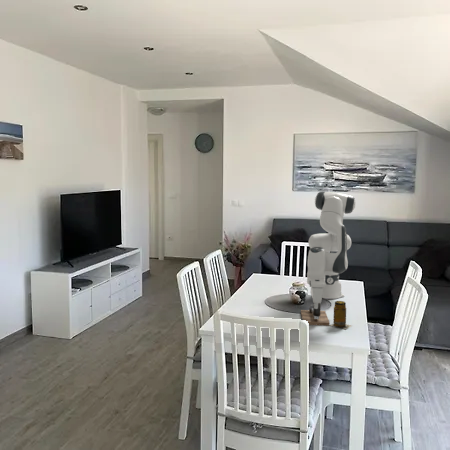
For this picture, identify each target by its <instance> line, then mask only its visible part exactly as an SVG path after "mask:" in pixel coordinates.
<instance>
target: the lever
mask: <svg viewBox="0 0 450 450" xmlns="http://www.w3.org/2000/svg"><path fill="white" fill-rule="evenodd" d="M321 303H322V302H321ZM321 303H318V309H314V302H313V301H312V304H309V305H308V306H309V307H308V308H309V309H308V310H309V311H310V312H312V314H313V317H314V319H319V316H320V311H322V310H321V309H322V308H321V307H322V305H321Z"/></svg>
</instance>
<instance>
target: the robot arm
mask: <svg viewBox="0 0 450 450" xmlns="http://www.w3.org/2000/svg"><path fill="white" fill-rule="evenodd" d="M314 205H315V208H316V209H318V210H319V211H321V212H320V217H319V224H320V227H321V228H322V229H323V230H324V231H325V232H327V233H314V234H311V235H310V237H309V238H308V246H309V250H308V255H307V273H306V276H307V277H306V284H308V285H309V287H310V295H311V298H312V303H313V302H314V309H318V303H322V300H323V299H329V300H333V299H334V300H336V299H340V298H342V297H343V298H344V297H345V294H344V293H342V282H340V274H342V273H344V272H345V271H347V269H348V266H349V265H348V264H349V261H348V260H349V259H348V250H350V248H351V246H352V239H351V237H350V235H349V234H347V233H348V232H347V228H346V226H345V225H344V224H343V221H344V216H345V215H344V214H347V215H348V214H351V213H352V212H354V209H355V208H356V200H355V197H354V196H352V195H350V194H346V193H341V192H333V191H332V192H331V191H318V193H317V194H316V196H315V197H314Z"/></svg>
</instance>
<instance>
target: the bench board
mask: <svg viewBox="0 0 450 450" xmlns="http://www.w3.org/2000/svg"><path fill="white" fill-rule="evenodd" d="M300 316H301V320H302V319H303V320H306V321H308V323H309V325H308V326H326V327H327V326H328V327H329V326H330V325H331V324H330V321H329V317H328V314H327V313H326V310H321V311H320V316H319V319H314V317H313V314H312V312H310V311H309V309H307V310H306V309H300Z"/></svg>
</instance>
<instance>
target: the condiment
mask: <svg viewBox="0 0 450 450" xmlns="http://www.w3.org/2000/svg"><path fill="white" fill-rule="evenodd" d="M332 321H333V323H332V324H330V325H329V326H331V327H335V328H339V329H343V330H347V329H349V328H352V325H350V324H347V306H346V302H345V301H344V300H336V301H334V306H333V320H332Z"/></svg>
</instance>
